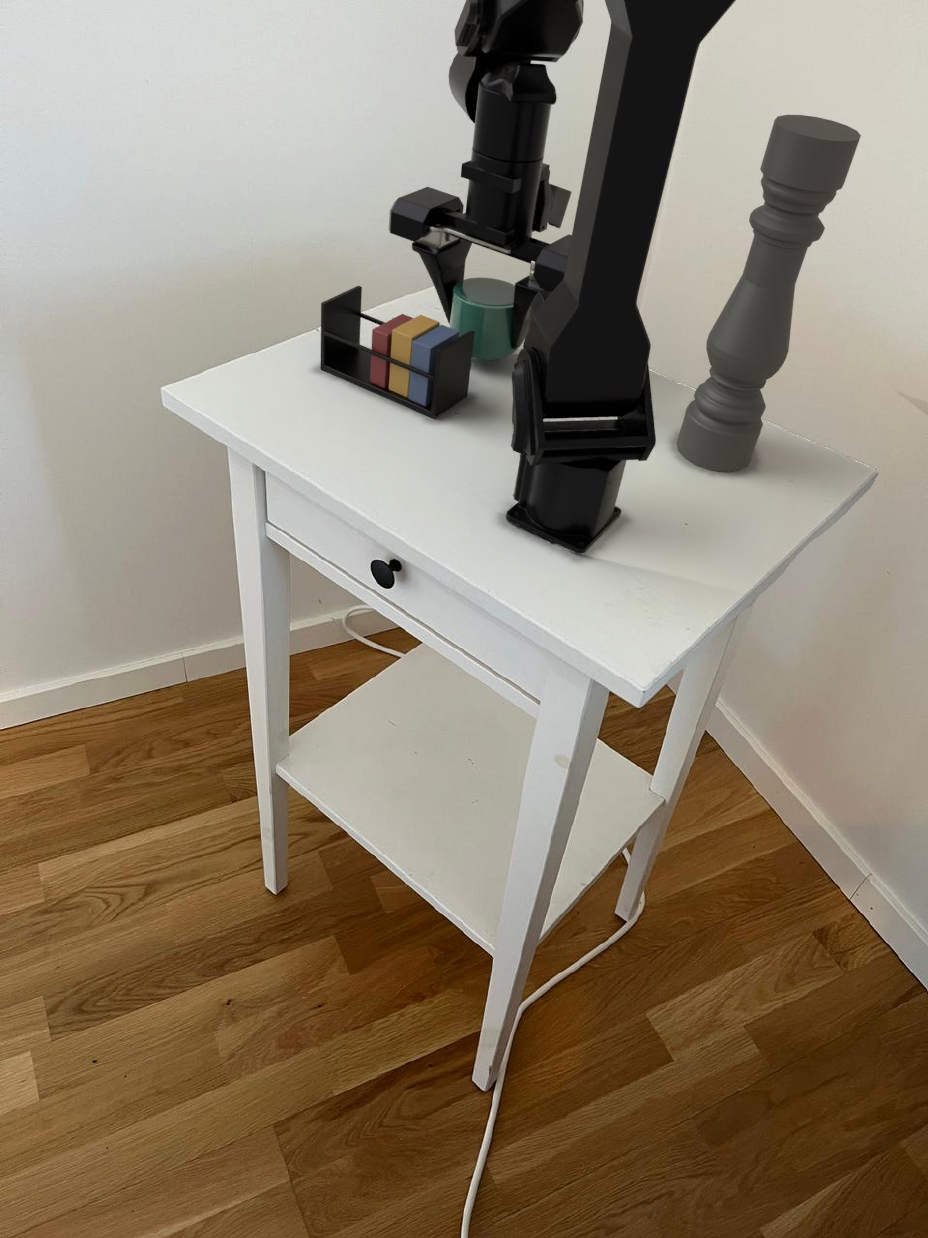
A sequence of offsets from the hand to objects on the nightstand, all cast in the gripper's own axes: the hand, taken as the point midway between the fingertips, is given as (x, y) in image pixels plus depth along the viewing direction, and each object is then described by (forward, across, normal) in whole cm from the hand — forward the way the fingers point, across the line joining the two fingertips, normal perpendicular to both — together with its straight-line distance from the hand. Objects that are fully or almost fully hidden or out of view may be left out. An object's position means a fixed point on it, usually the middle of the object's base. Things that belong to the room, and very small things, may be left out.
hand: (484, 335), depth 88 cm
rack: (+2, +3, +9) cm, 10 cm away
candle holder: (+2, -23, 0) cm, 23 cm away
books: (+2, +1, +9) cm, 10 cm away
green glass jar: (+1, 0, 0) cm, 1 cm away
